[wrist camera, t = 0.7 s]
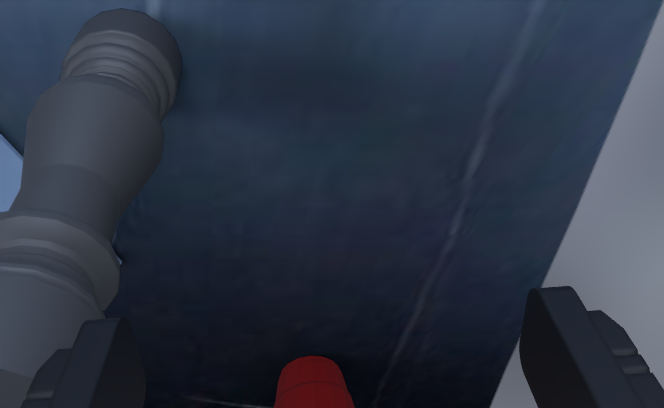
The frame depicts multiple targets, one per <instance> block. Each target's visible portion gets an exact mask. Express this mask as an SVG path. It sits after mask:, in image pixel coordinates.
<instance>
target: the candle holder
mask: <svg viewBox="0 0 664 408" xmlns="http://www.w3.org/2000/svg"><path fill="white" fill-rule="evenodd" d="M181 66H182V58H181V55H180V52H179V49H178V45H177V42H176V40H175V39H174V38H173V37H172V35H171V34H170V33H169V32H168V31H167V29H166V28H165V27H164V26H163V24H161V23H159V22H158V21H156V20H154V19H153V18H151V17H149V16H148V15H146V14H144V13H141V12H136V11H131V10H126V9H116V10H111V11H105V12H101V13H99V14H98V15H96V16H95V17H94V18H92V19H91V20H89V21H88V22H87V23H85V24H84V26H83V27H82V29H81V31H80V32H79V34H78V35H77V37H76V38H75V40H74V41H73V43H72V45H71V47H70V49H69V50H68V52H67V54H66V56H65V58H64V60H63V62H62V73H61V75H60V81H59V82H57V83H56V84H54V85H53V86H52V87H50V88H49V89H47V90H46V91H44V92H43V93H41V95H40V96H39V98H38V99H37V101H36V103H35V105H34V107H33V109H32V111H31V113H30V115H29V117H28V119H27V128H26V139H25V149H24V159H23V168H22V177H21V186H20V190H19V192H18V194H17V196H16V198H15V200H14V201H13V203H12V205H11V207H10V209H9V211H5V212H0V408H20V407H21V405H22V402H23V400H26V394H27V392H28V389H29V387H30V385H31V383H32V381H33V379H34V376H35V374H36V372H37V371H38V369H39V368H40V367H41V366H42V365H43V364H44V363H45V362H46V361H47V360H48V359H49V358H50V357H51V356H52V355H53V354H54V352H55V351H56V350H57V349H68V348H72V347H73V344H74V342H75V339H76V337H77V335H78V332H79V330H80V327H81V325H82V324H83V322H85V321H86V320H96V319H105V316H104V314H103V312H102V311H104V310H105V309H106V308H107V307H108V305H109V304H110V302H111V301H112V300H113V298H114V297H115V295H116V294H117V293H118V289H119V276H120V262H119V260H118V258H117V256H116V254H115V252H114V250H113V248H112V246H111V243H112V239H113V236H114V232H115V229H116V225H117V222H118V219H119V218H120V216H121V215H122V214H123V212H124V211H125V210H126V208H127V207H128V206H129V204H130V203H131V202H132V200H133V199H134V198H135V196H136V195H137V194H138V192H139V191H140V190H141V188H142V187H143V186H144V185H145V183H146V182H147V181H148V179H149V178H150V177H151V175H152V173H153V172H154V170H155V169H156V167H157V166H158V164H159V163H160V161H161V158H162V151H163V141H164V132H163V128H162V126H161V122H162V121H163V119H164V118H165V116H166V115H167V113H168V112H169V110H170V109H171V107H172V105H173V104H174V102H175V99H176V94H177V90H178V85H179V81H180V75H181Z"/></svg>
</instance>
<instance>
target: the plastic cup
mask: <svg viewBox="0 0 664 408" xmlns="http://www.w3.org/2000/svg"><path fill="white" fill-rule="evenodd" d="M274 408H355V407H354V404H353V401H352V398H351V395H350V393H348V390H347V387H346V384H345V381H344V378H343V375H342V372H341V370H339V367H338V365H337V364H336V363H335V362H333V361H332V360H330V359H328V358H325V357H322V356H307V357H302V358H298V359H296V360H294V361H292V362H290V363H288V364H287V365H286V366H285V367H284V368H283V370H282V372H281V375H280V378H279V382H278V387H277V395H276V402H275V405H274Z"/></svg>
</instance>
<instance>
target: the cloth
mask: <svg viewBox="0 0 664 408" xmlns="http://www.w3.org/2000/svg"><path fill="white" fill-rule="evenodd" d="M23 159H24V158H23V157H22V156H21V155H20V154H19V153H18V151H17V150H16V149H15V148H14V147H13V146H12V145H11V144H10V143H9V142H8V141H7V140H6V139H5V138H4V137H3V136H2V135H1V134H0V212H5V211H9V209H10V207H11V205H12V203H13V201H14V200H15V198H16V196H17V194H18V192H19V190H20V186H21V177H22V168H23ZM116 256H117V255H116ZM117 258H118V257H117ZM118 260H119V262H120V265H121V263H122V261H121V260H120V259H119V258H118Z"/></svg>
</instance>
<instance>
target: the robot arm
mask: <svg viewBox="0 0 664 408" xmlns="http://www.w3.org/2000/svg"><path fill="white" fill-rule="evenodd" d="M519 348H520V349H519V352H520V360H521V365H522V369H523V372H524V375H525V377H526V379H527V382H528V384H529V387H530V389H531V392H532V394H533V396H534V399H535V401H536V403H537V406H538V408H664V390H663V388H662V386H661V385H660V383H659V382H658V380H657V379H656V377H655V376H654V374H653V373H650V371H649V367H648V365H647V364H646V362H645V360H644V359H643V357H642V356H641V355H639V354H638V350H637V348H636V347H635V345H634V344H633V342H632V341H631V339H630V338H629V336H628V335H627V333H626V331H625V330H624V328H622V327H621V326H620V325H619V324H617V323H616V322H615V321H614V320H612V319H611V318H610V317H609V316H607V315H606V314H605V313H604V312H602V311H601V310H596V311H587V310H586V308H585V306H584V305H583V303H582V301H581V300H580V298H579V296H578V295H577V293H576V292H575V290H574V289H573V288H572V287H570V286H562V287H549V288H535V289H531V290H530V292H529V294H528V298H527V304H526V309H525V315H524V320H523V326H522V332H521V337H520V346H519ZM145 390H146V381H145V372H144V368H143V365H142V362H141V358H140V355H139V352H138V349H137V346H136V343H135V340H134V336H133V333H132V330H131V327H130V324H129V322H128V320H127V319H126V318H109V319H96V320H86V321H85V322H83V324H82V325H81V327H80V330H79V332H78V335H77V337H76V339H75V342H74V344H73V347H72V348H68V349H57V350H56V351H55V352H54V354H53V355H52V356H51V357H50V358H49V359H48V360H47V361H46V362H45V363H44V364H43V365H42V366H41V367H40V368H39V369H38V371H37V372H36V374H35V376H34V379H33V381H32V383H31V385H30V387H29V389H28V392H27V394H26V400H23V402H22V405H21V407H20V408H143V404H144V399H145Z"/></svg>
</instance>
